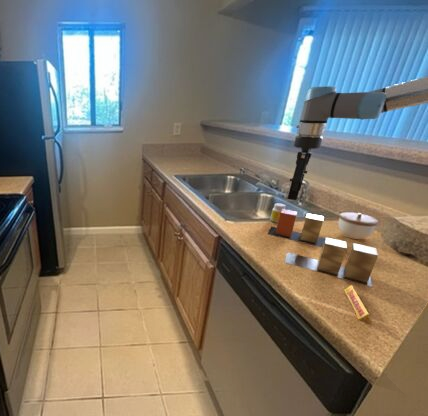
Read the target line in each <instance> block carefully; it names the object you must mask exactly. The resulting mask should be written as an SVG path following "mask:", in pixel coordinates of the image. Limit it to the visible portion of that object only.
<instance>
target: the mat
mask: <svg viewBox="0 0 428 416" xmlns="http://www.w3.org/2000/svg"><path fill="white" fill-rule="evenodd" d="M276 229H277V226H272V225H271V226H270V228H269V230H268V232H267V235H269V236H273V237H278V238H281V239H282V238H283V239H286V240H290V241H294V242H300V243H303V244H308V245H312V246H317V247H320V248H322V247H323V244H324V241H325V238H326V237H323V236H319V237H318V240H317V243H313V242H309V241H304V240H300V237H301V234H302V232H299V231H294V230H293V231H292V234H291V237H287V236H283V235H279V234H276Z"/></svg>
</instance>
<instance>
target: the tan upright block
mask: <svg viewBox="0 0 428 416" xmlns="http://www.w3.org/2000/svg"><path fill="white" fill-rule="evenodd" d="M324 238H325V241H324V244H323V247H321V251H320V253H319V257H318V259H317V260H318V266H317V269H319V270H323V271H326V272H330V273H333V274H337V275H338V273H339V270H340V267H341V266H342V264H343V261H344V258H345V256H346V253H347V250H348V243H347V241H344V240H341V239H335V238H331V237H326V236H325V237H324Z"/></svg>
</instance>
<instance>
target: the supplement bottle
mask: <svg viewBox="0 0 428 416" xmlns="http://www.w3.org/2000/svg"><path fill="white" fill-rule="evenodd" d="M282 209H286V204H285V203H278V202H277V203H274V205H273V208H272V210H271V214H270V219H269V223H270V224H272V225H276V226H277V225H278V221H279V217H280V213H281V210H282Z"/></svg>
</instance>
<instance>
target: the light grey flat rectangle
mask: <svg viewBox="0 0 428 416" xmlns="http://www.w3.org/2000/svg"><path fill="white" fill-rule="evenodd" d="M318 260H319V259H315V258H312V257H307V256H304V255H300V254H296V253H292V252H286V255H285V258H284V263H286V264H288V265H292V266H295V267H299V268H304V269H306V270H311V271H314V272H316V273H320V274H325V275H328V276H332V277H334V278H339V279H343V280H346V281H349V282H352V283H357V284H361V285H364V286H368V287H371V288H373V283H372V278H371V275H370V277H369V280H368V282H367V283H366V282H363V281H359V280H355V279H352V278H348V277H345V275H344V268H345V266H342V265H341V267H340V270H339V273H338V275H337V274H333V273H330V272H326V271H323V270H319V269H317V266H318Z"/></svg>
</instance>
